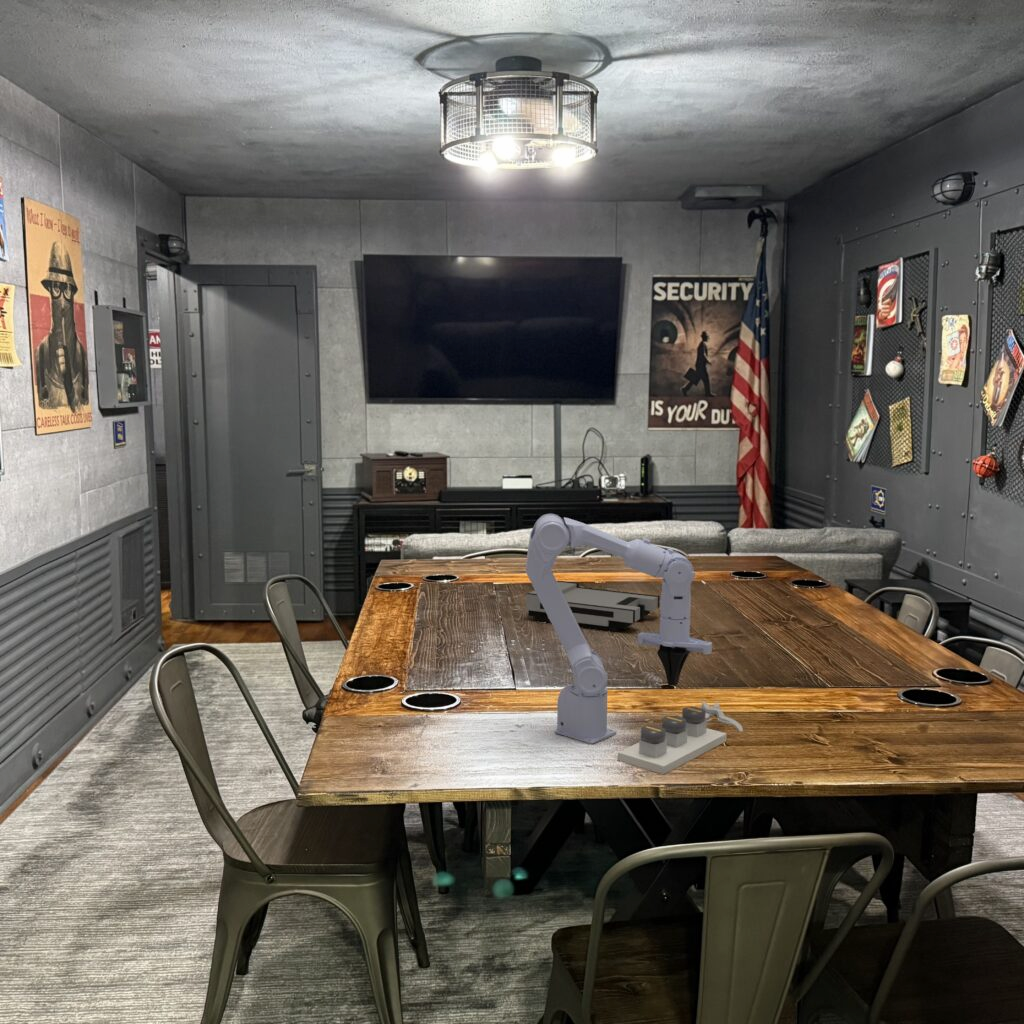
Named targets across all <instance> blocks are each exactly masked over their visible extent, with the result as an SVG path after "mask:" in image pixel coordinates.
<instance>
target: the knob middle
mask: <svg viewBox="0 0 1024 1024" xmlns="http://www.w3.org/2000/svg"><path fill="white" fill-rule="evenodd" d="M661 727H663V728H665V730H666V732H669V733H682V732H684V731H686V719H685V718H683V717H682V716H677V715H667V716H664V717H662V726H661Z"/></svg>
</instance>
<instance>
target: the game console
mask: <svg viewBox="0 0 1024 1024" xmlns="http://www.w3.org/2000/svg"><path fill="white" fill-rule="evenodd" d="M556 581H557V583H558V585H559V587H560V589H561V591H562V593H563V595H564V597H565V599H566V601H567V603H568V605H569V607H570V609H571V611H572V613H573V615H574V617H575V619H576V621H577V623H578V625H579V627H583V628H582V629H585V628H590V629H589V630H593V629H596V630H595V631H600V630H603V631H602V632H608V631H610V632H611V633H615V632H617V633H618V632H620V631H621V629H622V630H623V629H626V628H628V627H630V626H632V625H633V624H634V623H636V622H637V621H639V620H641V619H643V618H645V617H647V616H648V615H649V614H651V612H654V611H656V610H658V609H659V608H660V606H661V595H654V594H645V593H637V592H627V591H619V590H611V589H609V590H608V589H603V588H602V589H601V588H591V587H582V586H580V585H579V584H580V583H579V582H573V581H563V580H556ZM525 600H526V601H525V610H526V611H528V617H533V618H534V622H535V621H539V622H546V623H545V624H547V623H551V621H550V619H549V617H548V615H547V613H546V611H545V609H544V607H543V605H542V603H541V601H540V599H539V597H538V595H537V593H536V591H535V590H533V591H530V592H528V593H526V594H525ZM539 622H538V623H539ZM619 630H620V631H619ZM610 632H609V633H610Z"/></svg>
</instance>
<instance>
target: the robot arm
mask: <svg viewBox="0 0 1024 1024" xmlns="http://www.w3.org/2000/svg"><path fill="white" fill-rule="evenodd" d="M528 540H529V541H528V548H527V554H526V561H525V573H526V575H527V577H528V579H529V581H530V583H531V585H532V587H533V589H534V591H536V593H537V595H538V597H539V599H540V601H541V603H542V605H543V607H544V609H545V611H546V613H547V615H548V617H549V619H550V621H551V623H552V624H551V625H552V627H553V629H554V631H555V633H556V635H557V637H558V639H559V641H560V643H561V645H562V647H563V649H564V651H565V653H566V656H567V658H568V661H569V663H570V666H571V671H572V674H573V678H574V681H573V683H572V684H571V685H566V686H564V687H563V688H562V689H561V690H560V692H559V695H558V698H557V703H556V707H557V712H556V714H557V716H556V717H557V718H556V719H557V720H556V723H557V724H556V726H557V727H556V729H555V730H554V733H555V734H558V735H561V736H565V737H568V738H570V739H571V738H572V739H575V740H578V741H581V742H583V743H584V742H585V743H587V744H593V745H594V744H596V743H598V742H600V741H603V740H605V739H607V738H609V737H612V736H613V735H616V734H617V731H616V730H614V729H610V728H608V687H607V684H608V680H609V679H608V674H607V672H606V670H605V666H604V662H603V660H602V658H601V656H600V655H599V654H598V653H596V652H595V651H594V650H592V648H591V646H590V645H589V642H588V640H587V639H586V637H585V635H584V633H583V632H582V630H581V629H582V628H580V627H579V625H578V623H577V621H576V619H575V617H574V615H573V613H572V611H571V609H570V607H569V605H568V603H567V601H566V599H565V597H564V595H563V593H562V591H561V589H560V587H559V585H558V583H557V581H558V580H557V578H556V577H555V574H554V572H553V571H552V570H553V567H554V565H555V563H556V561H557V558H558V556H559V555H560V554H561V553H562V552H563V551H564V549H565V548H566V547H567V546H568V545H569V547H570V549H574V548H577V547H581V546H588V547H591V548H592V549H593V548H594V549H597V550H599V551H602V552H605V553H608V554H610V555H614V556H617V557H620V558H622V560H623V563H624V564H625V566H626V567H627V568H630V569H632V570H635V571H637V572H639V573H642V574H645V575H648V576H649V577H650V576H651V577H653V578H655V579H659V578H662V580H661V581H662V584H661V591H660V613H659V614H660V616H659V633H656V632H655V633H653V632H642V631H641V632H640V633H637V645H650V646H656V647H658V648H659V649H657V653H656V654H657V656H658V658H659V659H660V662H661V664H662V667H663V670H664V672H665V676H666V681H667V685H668V686H669V687H670V686H672V687H676V686H677V685H678V684H679V679H680V676H681V672H682V670H683V667H684V665H685V663H686V661H687V658H688V657H689V655H690V653H691V652H695V653H703V655H710V654H711V653H712V652H713V642H711V641H706V640H701V639H697V638H694V637H690V633H691V632H690V631H691V630H690V629H691V609H692V608H691V607H692V606H691V604H692V602H691V601H692V594H691V593H692V592H691V590H692V589H691V587H692V586H691V585H692V583H693V581H694V579H695V577H696V572H695V571H694V570H695V569H694V567H693V564H692V562H691V561H689V559H688V558H687V557H686V556H684V555H683V554H681V553H679V551H674V550H673V549H672V548H669V547H668V548H667V549H665V548H662V547H660V546H659V545H658V546H657V545H655V544H653V543H651V540H650V539H649V538H646V537H643V538H642V539H639V538H636V539H633V540H631V541H626V540H624V539H622V538H619V537H617V536H614V535H612V534H610V533H608V532H606V531H603V530H601V529H598V528H595V527H594V526H592V525H589V524H586V523H584V522H582V521H578V520H576V519H575V520H574V519H571V518H569V517H565V516H564V517H563V518H562V517H560V516H559V515H558V514H555V513H546V514H543V515H541V516H540V517H539V518H538V519H537V520H536V522H535V523H534V525H533V527H532V529H531V530H530V533H529V539H528Z"/></svg>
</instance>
